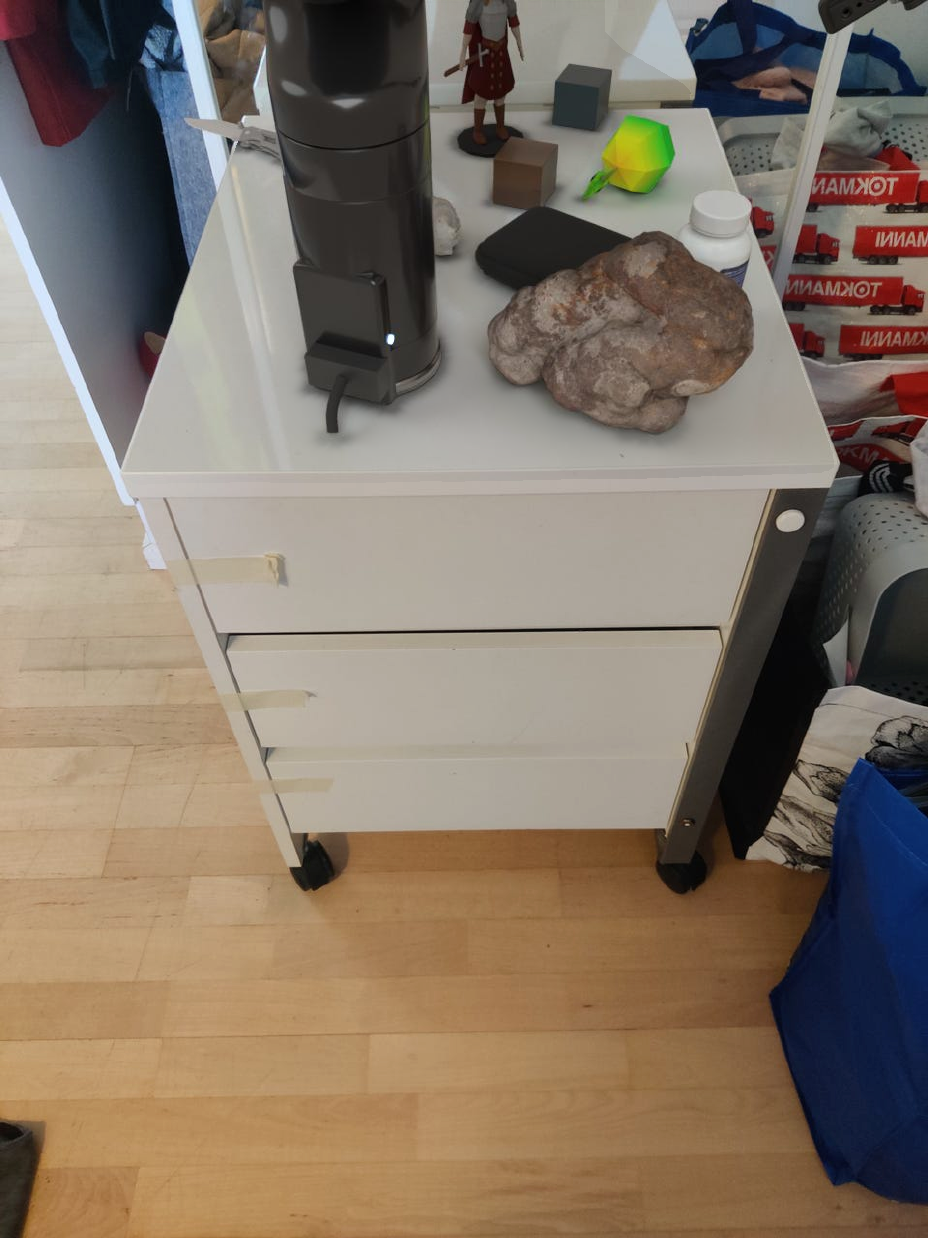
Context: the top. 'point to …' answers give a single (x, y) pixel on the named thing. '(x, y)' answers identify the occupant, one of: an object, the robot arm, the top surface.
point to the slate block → (581, 96)
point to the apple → (635, 156)
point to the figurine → (487, 72)
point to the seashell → (445, 226)
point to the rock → (627, 333)
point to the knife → (239, 134)
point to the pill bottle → (719, 232)
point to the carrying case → (542, 246)
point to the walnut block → (524, 173)
